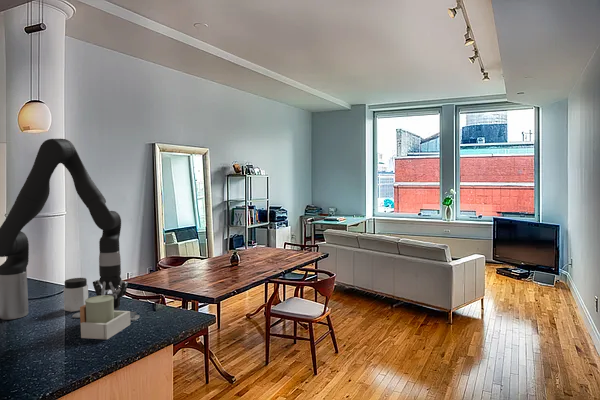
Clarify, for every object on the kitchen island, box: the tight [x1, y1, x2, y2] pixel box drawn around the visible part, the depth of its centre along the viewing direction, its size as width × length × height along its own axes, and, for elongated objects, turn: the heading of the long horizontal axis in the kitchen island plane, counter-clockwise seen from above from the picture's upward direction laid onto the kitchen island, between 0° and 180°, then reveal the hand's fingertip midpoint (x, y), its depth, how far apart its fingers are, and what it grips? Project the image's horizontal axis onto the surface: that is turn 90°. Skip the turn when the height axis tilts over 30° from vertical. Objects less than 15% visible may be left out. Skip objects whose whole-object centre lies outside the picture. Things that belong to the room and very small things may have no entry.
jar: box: [63, 277, 89, 313], centre depth 176 cm, size 9×8×12 cm
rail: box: [72, 311, 140, 322], centre depth 164 cm, size 26×3×1 cm, turn 81°
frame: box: [80, 310, 131, 340], centre depth 150 cm, size 10×14×5 cm, turn 171°
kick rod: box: [79, 292, 137, 325], centre depth 157 cm, size 12×18×8 cm
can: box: [85, 295, 114, 323], centre depth 150 cm, size 9×9×12 cm
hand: (111, 307), depth 164 cm, fingers closed on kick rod, 4 cm apart
